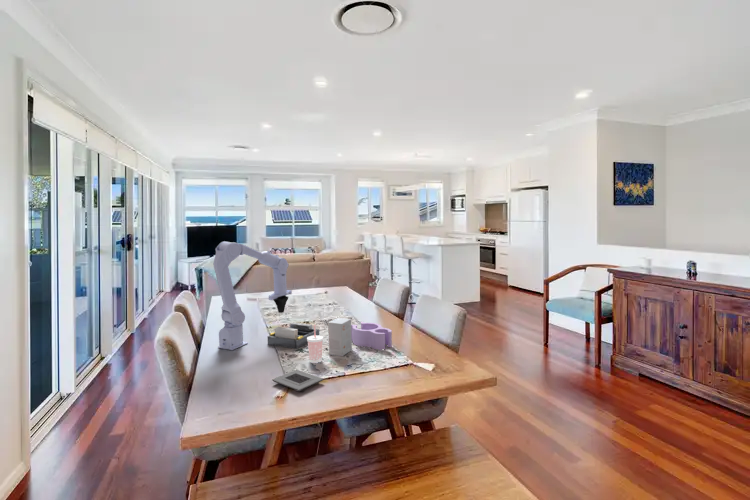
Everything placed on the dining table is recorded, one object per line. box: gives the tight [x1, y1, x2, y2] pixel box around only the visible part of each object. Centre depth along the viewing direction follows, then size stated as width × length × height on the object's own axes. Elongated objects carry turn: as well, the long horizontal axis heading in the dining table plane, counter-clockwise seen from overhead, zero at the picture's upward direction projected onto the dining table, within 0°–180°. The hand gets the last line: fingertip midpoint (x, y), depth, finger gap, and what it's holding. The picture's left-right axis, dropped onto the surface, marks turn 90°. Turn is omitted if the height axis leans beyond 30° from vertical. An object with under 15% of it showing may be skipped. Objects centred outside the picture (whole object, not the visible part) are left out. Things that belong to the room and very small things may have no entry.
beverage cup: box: [307, 324, 324, 364], centre depth 154 cm, size 6×6×14 cm
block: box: [274, 326, 298, 340], centre depth 174 cm, size 2×10×7 cm, turn 66°
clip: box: [351, 321, 393, 351], centre depth 174 cm, size 20×12×7 cm, turn 43°
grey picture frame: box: [271, 369, 324, 392], centre depth 134 cm, size 13×10×2 cm
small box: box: [327, 317, 353, 357], centre depth 163 cm, size 8×6×13 cm
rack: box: [267, 321, 320, 350], centre depth 179 cm, size 17×15×6 cm
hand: (281, 312), depth 189 cm, fingers closed
